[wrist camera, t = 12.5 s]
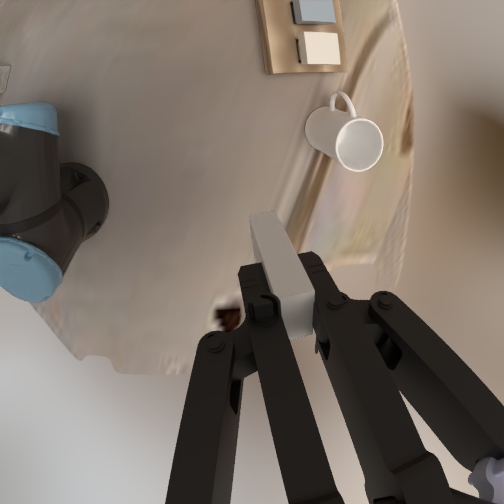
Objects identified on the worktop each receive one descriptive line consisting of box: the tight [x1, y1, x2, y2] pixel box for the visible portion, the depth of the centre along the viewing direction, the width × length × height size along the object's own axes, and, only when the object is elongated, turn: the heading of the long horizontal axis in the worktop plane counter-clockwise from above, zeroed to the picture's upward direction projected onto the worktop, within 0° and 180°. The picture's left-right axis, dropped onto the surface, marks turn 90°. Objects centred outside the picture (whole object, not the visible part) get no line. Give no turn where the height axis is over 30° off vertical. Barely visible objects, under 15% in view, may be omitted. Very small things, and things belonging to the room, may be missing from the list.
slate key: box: [291, 0, 336, 25], centre depth 27 cm, size 5×5×7 cm
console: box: [255, 0, 348, 74], centre depth 30 cm, size 12×20×5 cm, turn 7°
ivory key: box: [296, 32, 341, 65], centre depth 30 cm, size 5×5×7 cm
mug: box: [305, 91, 383, 172], centre depth 38 cm, size 12×9×12 cm
